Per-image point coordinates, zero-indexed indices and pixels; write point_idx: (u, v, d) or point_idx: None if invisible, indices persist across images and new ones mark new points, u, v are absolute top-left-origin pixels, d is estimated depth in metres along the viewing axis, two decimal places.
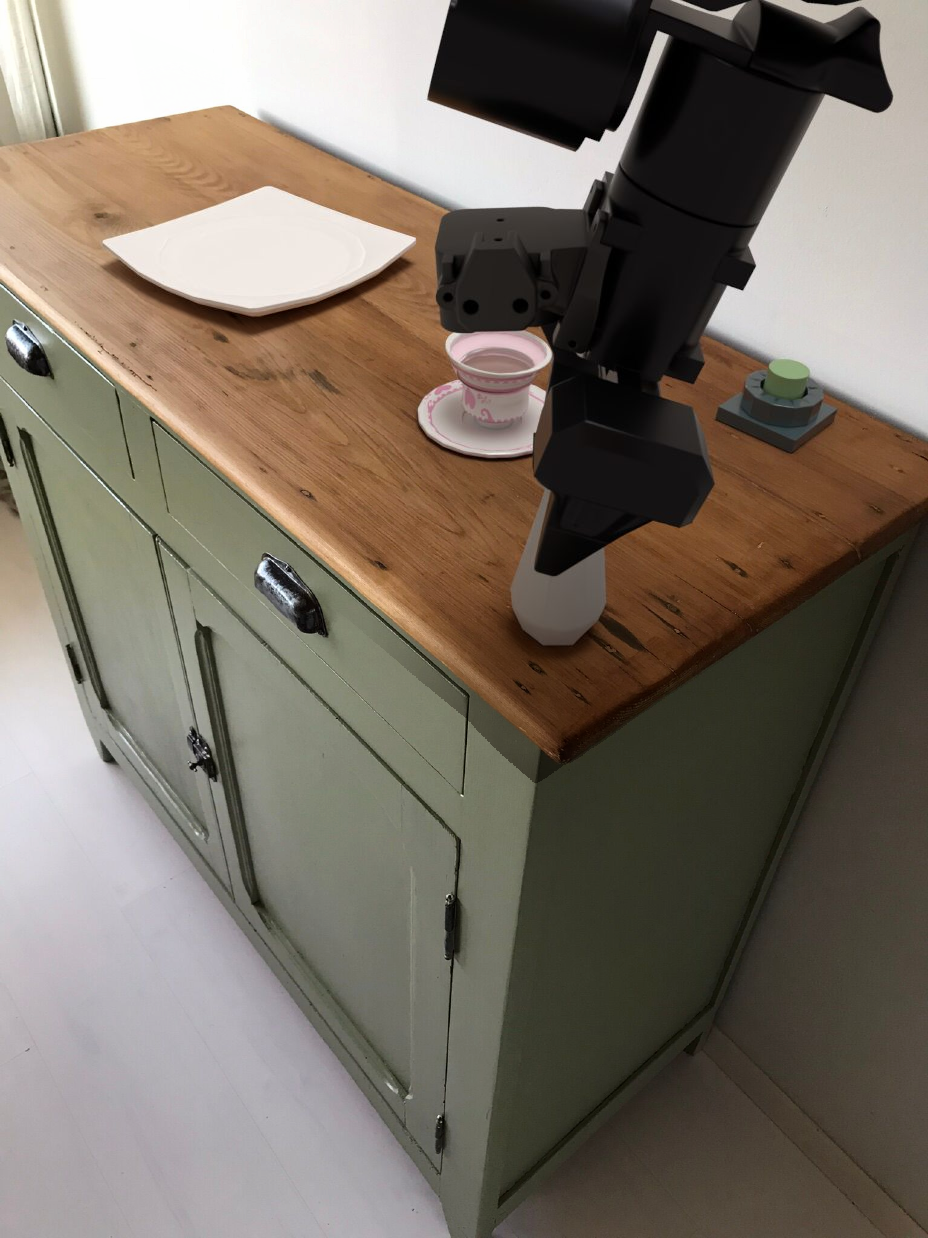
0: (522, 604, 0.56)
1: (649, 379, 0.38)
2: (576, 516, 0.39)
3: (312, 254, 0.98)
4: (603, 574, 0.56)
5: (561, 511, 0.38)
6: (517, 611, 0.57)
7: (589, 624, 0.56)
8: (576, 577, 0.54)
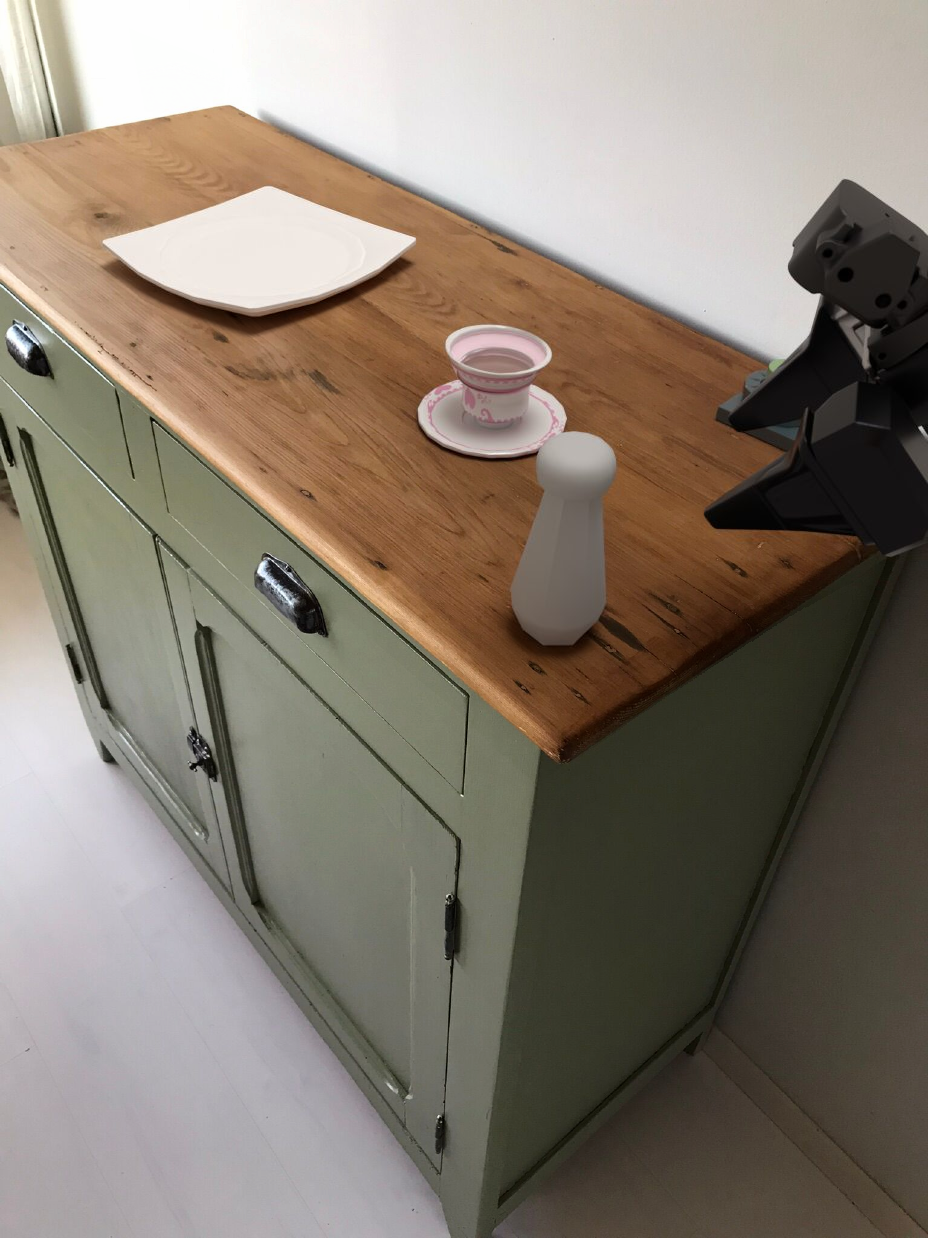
0: (522, 604, 0.56)
1: None
2: (782, 494, 0.42)
3: (312, 254, 0.98)
4: (603, 574, 0.56)
5: (778, 482, 0.41)
6: (517, 611, 0.57)
7: (589, 624, 0.56)
8: (576, 577, 0.54)
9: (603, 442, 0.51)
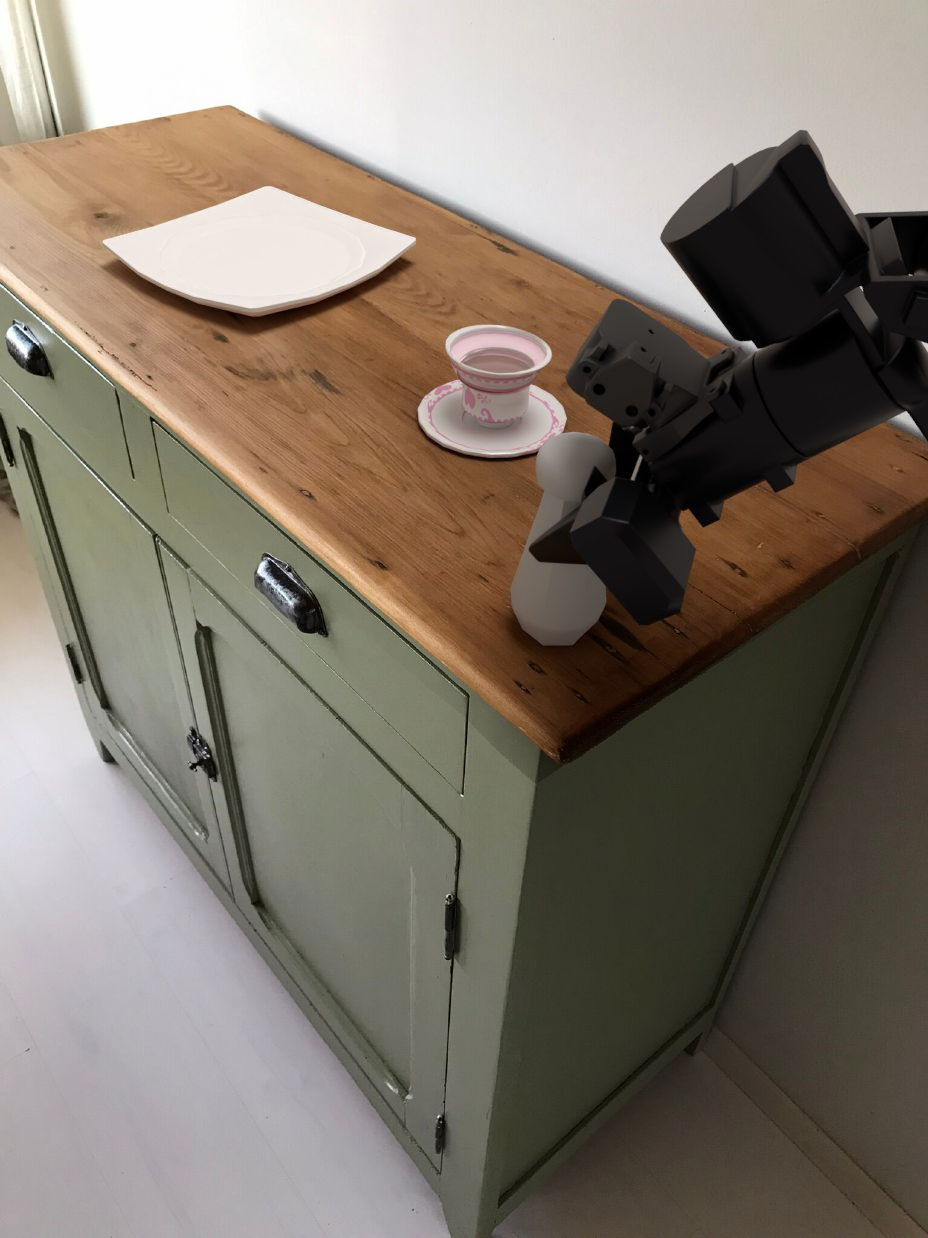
0: (522, 605, 0.56)
1: (677, 506, 0.48)
2: None
3: (312, 254, 0.98)
4: None
5: None
6: (517, 611, 0.57)
7: (589, 624, 0.56)
8: (576, 577, 0.54)
9: (603, 443, 0.51)
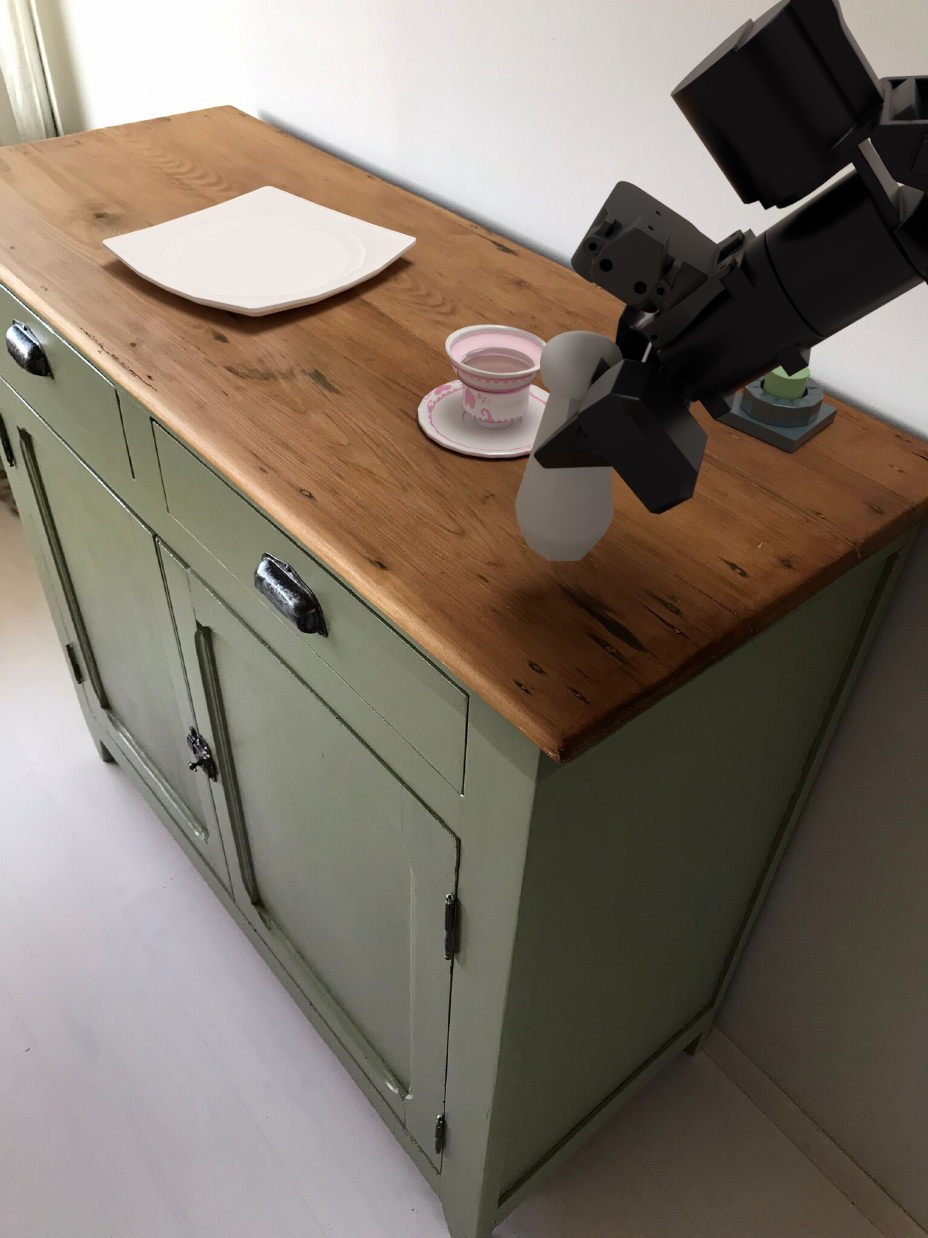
0: (527, 517, 0.55)
1: (687, 397, 0.46)
2: None
3: (312, 254, 0.98)
4: (610, 484, 0.54)
5: None
6: (522, 525, 0.55)
7: (596, 536, 0.55)
8: (582, 484, 0.52)
9: (609, 340, 0.50)
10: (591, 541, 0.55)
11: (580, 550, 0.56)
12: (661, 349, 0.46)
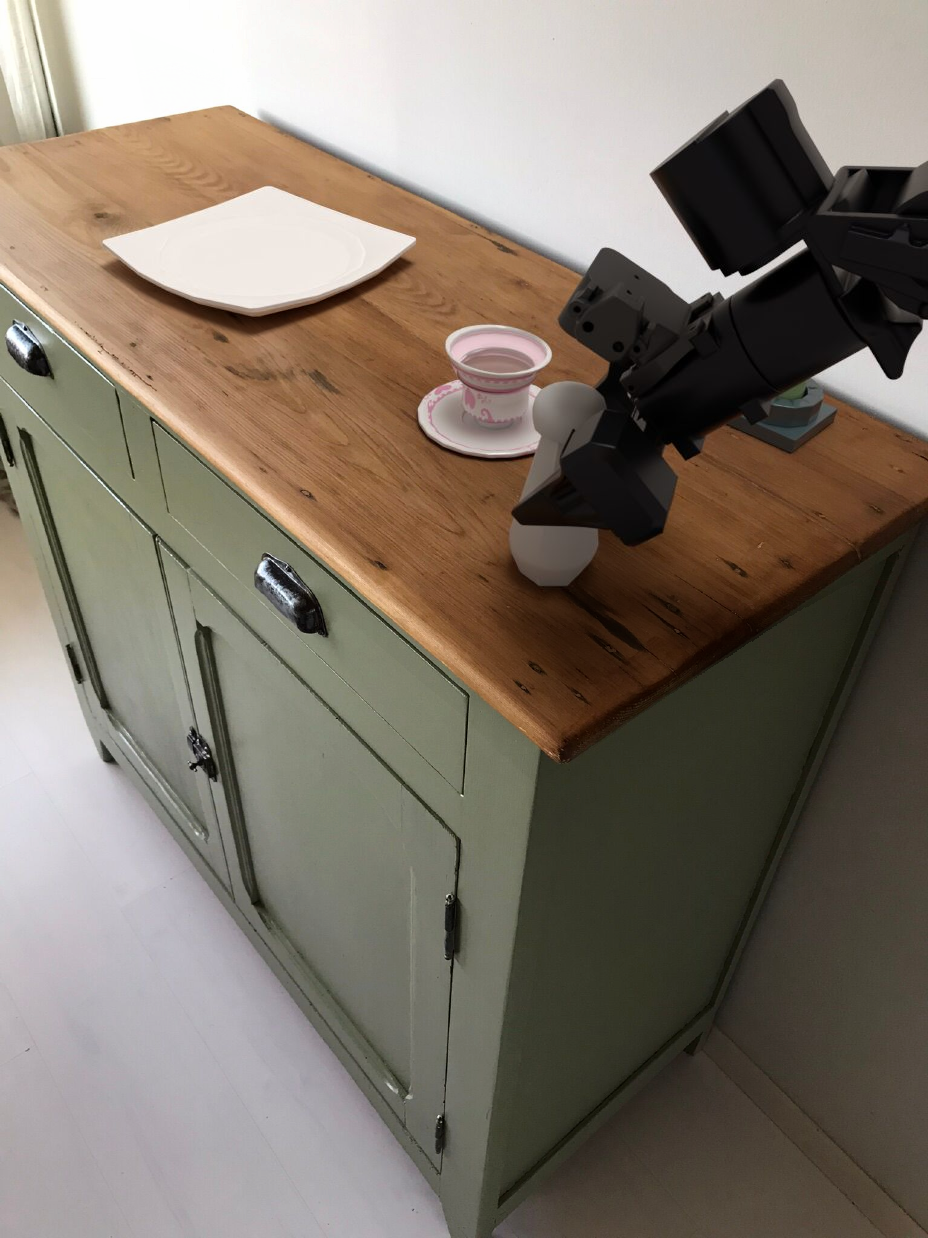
0: (520, 546, 0.60)
1: (661, 440, 0.52)
2: (563, 497, 0.53)
3: (312, 254, 0.98)
4: None
5: (556, 487, 0.52)
6: (515, 553, 0.61)
7: (582, 565, 0.61)
8: None
9: (594, 390, 0.55)
10: (577, 569, 0.60)
11: (567, 577, 0.61)
12: (638, 398, 0.51)
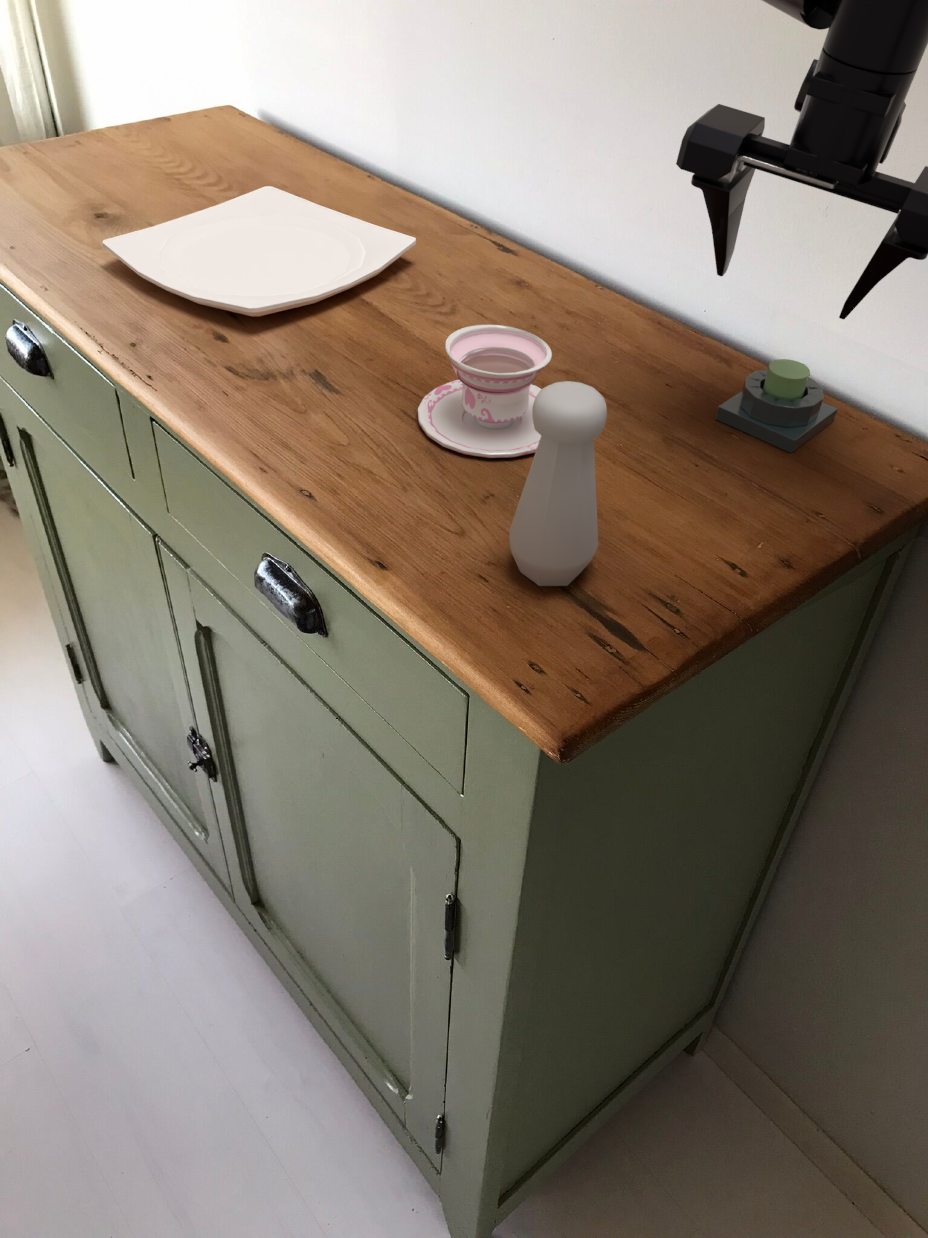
0: (520, 546, 0.60)
1: None
2: None
3: (312, 254, 0.98)
4: (595, 517, 0.60)
5: None
6: (515, 553, 0.61)
7: (582, 565, 0.61)
8: (569, 518, 0.58)
9: (594, 390, 0.55)
10: (577, 569, 0.60)
11: (567, 577, 0.61)
12: None
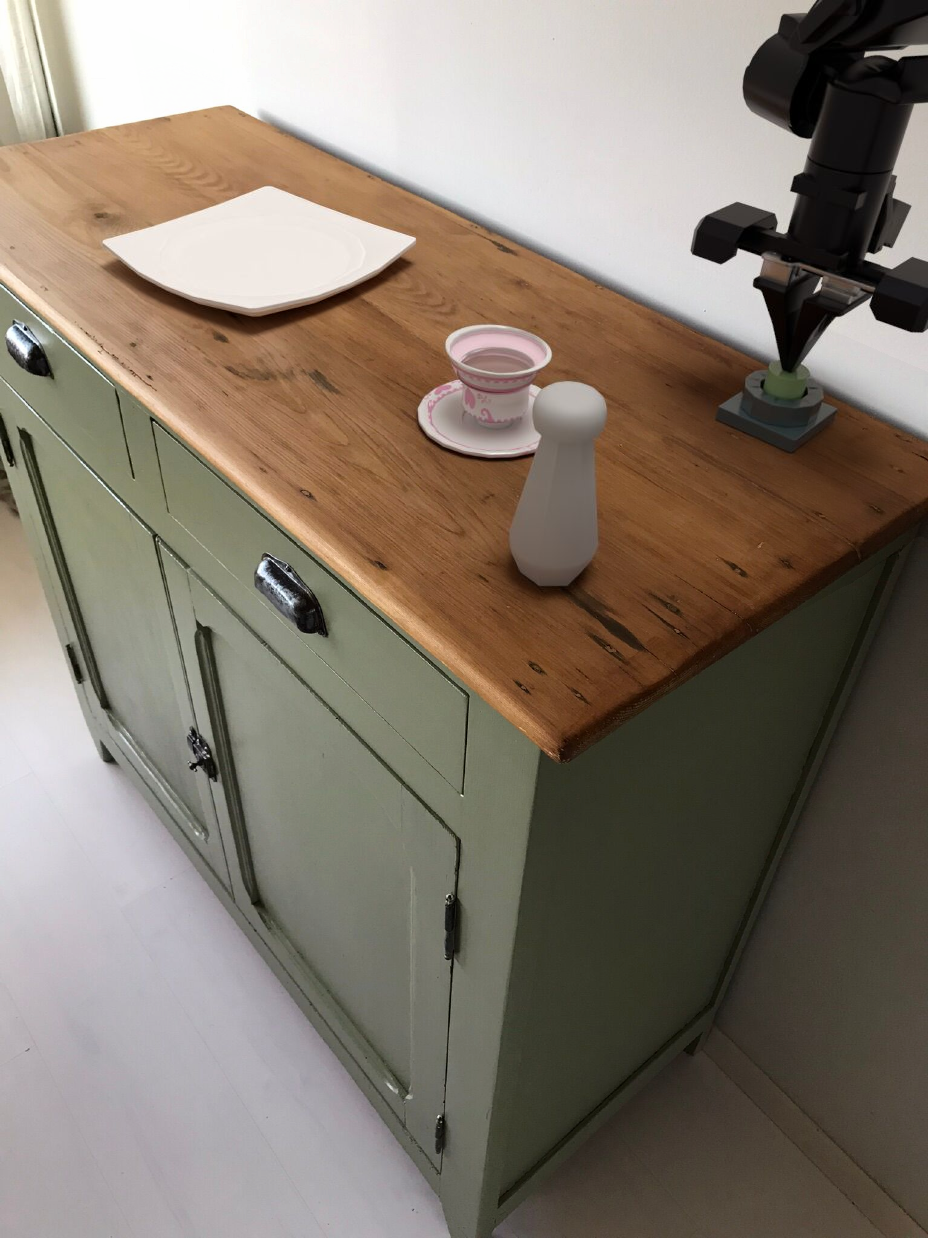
0: (520, 546, 0.60)
1: None
2: None
3: (312, 254, 0.98)
4: (595, 517, 0.60)
5: None
6: (515, 553, 0.61)
7: (582, 565, 0.61)
8: (569, 518, 0.58)
9: (594, 390, 0.55)
10: (577, 569, 0.60)
11: (567, 577, 0.61)
12: None
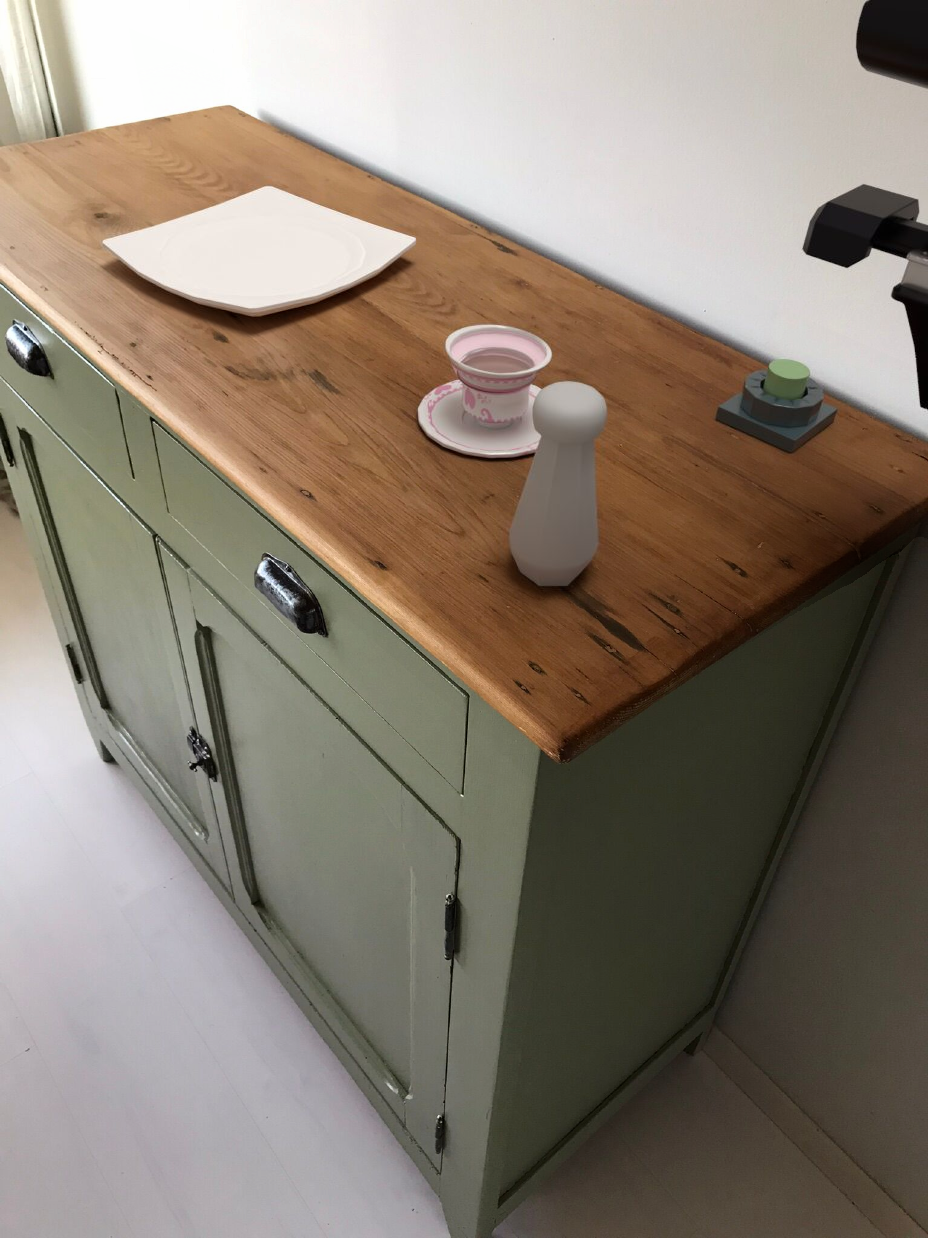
0: (520, 546, 0.60)
1: None
2: None
3: (312, 254, 0.98)
4: (595, 517, 0.60)
5: None
6: (515, 553, 0.61)
7: (582, 565, 0.61)
8: (569, 518, 0.58)
9: (594, 390, 0.55)
10: (577, 569, 0.60)
11: (567, 577, 0.61)
12: None
